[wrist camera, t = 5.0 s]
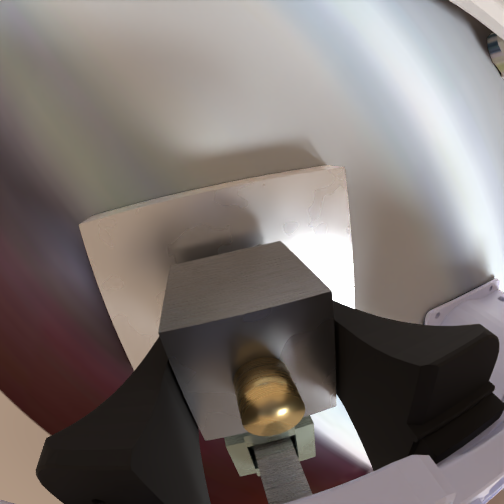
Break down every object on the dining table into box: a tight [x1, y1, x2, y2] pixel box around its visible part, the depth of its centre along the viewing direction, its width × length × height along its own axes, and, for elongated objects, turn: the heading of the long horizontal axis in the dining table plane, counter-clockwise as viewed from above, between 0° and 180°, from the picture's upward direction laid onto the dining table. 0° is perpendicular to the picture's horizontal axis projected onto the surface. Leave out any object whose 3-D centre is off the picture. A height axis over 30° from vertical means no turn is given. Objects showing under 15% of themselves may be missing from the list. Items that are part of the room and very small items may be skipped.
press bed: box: [79, 165, 355, 476], centre depth 14 cm, size 12×16×5 cm
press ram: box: [253, 436, 312, 504], centre depth 12 cm, size 3×3×8 cm
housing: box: [158, 241, 336, 441], centre depth 10 cm, size 4×4×6 cm
